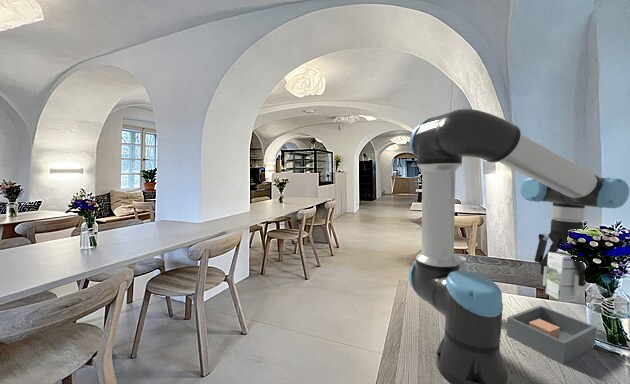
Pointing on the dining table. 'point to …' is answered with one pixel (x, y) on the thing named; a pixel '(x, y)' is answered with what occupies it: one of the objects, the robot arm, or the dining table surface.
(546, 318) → the tote
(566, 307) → the dining table surface
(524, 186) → the robot arm
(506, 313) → the dining table surface
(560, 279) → the syrup box
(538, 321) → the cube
